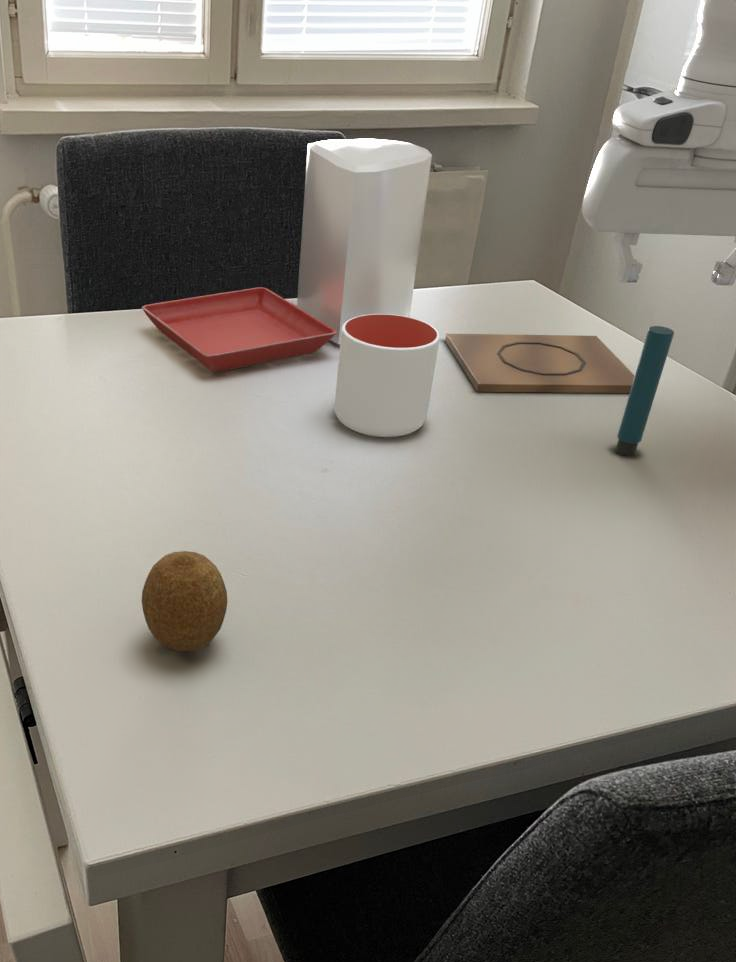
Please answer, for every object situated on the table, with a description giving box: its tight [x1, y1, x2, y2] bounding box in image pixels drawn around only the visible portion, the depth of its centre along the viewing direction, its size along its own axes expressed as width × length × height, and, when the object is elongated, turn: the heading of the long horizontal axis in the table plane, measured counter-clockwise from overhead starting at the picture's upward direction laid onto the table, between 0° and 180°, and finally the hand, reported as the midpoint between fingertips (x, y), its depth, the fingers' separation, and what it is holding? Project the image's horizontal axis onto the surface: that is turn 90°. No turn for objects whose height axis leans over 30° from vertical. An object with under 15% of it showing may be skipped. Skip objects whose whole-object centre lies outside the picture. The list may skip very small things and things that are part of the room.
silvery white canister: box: [296, 138, 433, 345], centre depth 124 cm, size 15×14×22 cm
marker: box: [615, 325, 675, 457], centre depth 100 cm, size 2×2×13 cm
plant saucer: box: [141, 286, 336, 373], centre depth 122 cm, size 18×18×3 cm
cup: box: [333, 314, 441, 438], centre depth 104 cm, size 10×10×10 cm
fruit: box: [141, 550, 229, 652], centre depth 72 cm, size 6×6×8 cm
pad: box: [444, 333, 635, 394], centre depth 121 cm, size 20×16×1 cm
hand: (673, 282), depth 93 cm, fingers open, 8 cm apart
